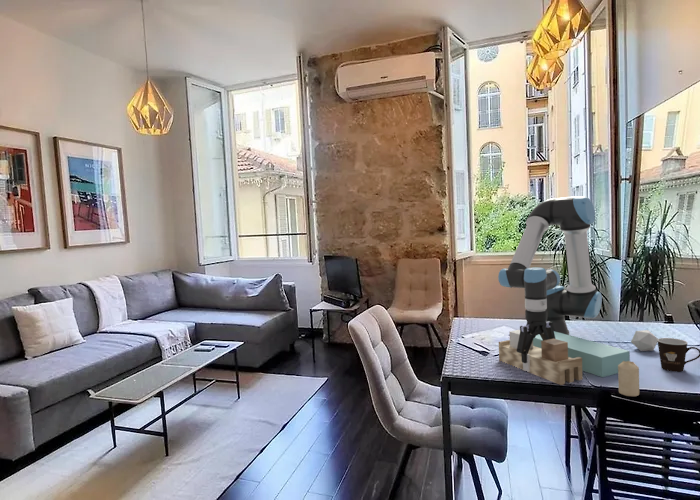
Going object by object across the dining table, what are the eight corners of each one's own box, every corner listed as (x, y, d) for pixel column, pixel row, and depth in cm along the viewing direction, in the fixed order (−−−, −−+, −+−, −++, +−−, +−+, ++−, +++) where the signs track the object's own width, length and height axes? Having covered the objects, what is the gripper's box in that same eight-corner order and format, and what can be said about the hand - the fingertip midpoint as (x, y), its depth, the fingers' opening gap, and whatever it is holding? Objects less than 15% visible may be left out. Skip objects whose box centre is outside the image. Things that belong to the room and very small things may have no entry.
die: (658, 355, 171) (665, 334, 173) (636, 345, 172) (644, 323, 175) (644, 357, 179) (651, 336, 181) (624, 347, 180) (631, 326, 182)
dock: (528, 352, 182) (527, 335, 182) (553, 346, 187) (552, 330, 187) (602, 377, 151) (601, 357, 150) (629, 370, 156) (629, 350, 156)
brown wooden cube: (541, 357, 156) (541, 341, 155) (554, 354, 158) (553, 338, 158) (555, 362, 150) (554, 345, 150) (568, 359, 152) (567, 342, 152)
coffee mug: (652, 367, 157) (651, 340, 156) (667, 363, 160) (666, 336, 160) (687, 377, 146) (687, 348, 146) (703, 372, 150) (702, 344, 149)
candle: (631, 398, 133) (631, 366, 133) (614, 392, 138) (614, 361, 138) (643, 394, 135) (642, 362, 135) (626, 388, 140) (625, 358, 140)
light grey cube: (509, 346, 171) (509, 331, 170) (521, 344, 173) (521, 329, 172) (521, 350, 165) (520, 334, 165) (533, 347, 167) (532, 332, 167)
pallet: (499, 360, 174) (498, 341, 173) (518, 356, 178) (518, 338, 177) (561, 385, 146) (560, 362, 146) (582, 379, 150) (582, 357, 149)
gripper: (519, 315, 153) (521, 377, 154) (567, 307, 161) (568, 366, 163) (504, 311, 160) (506, 370, 161) (550, 304, 168) (552, 360, 170)
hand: (537, 368), depth 162 cm, fingers closed on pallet, 10 cm apart
